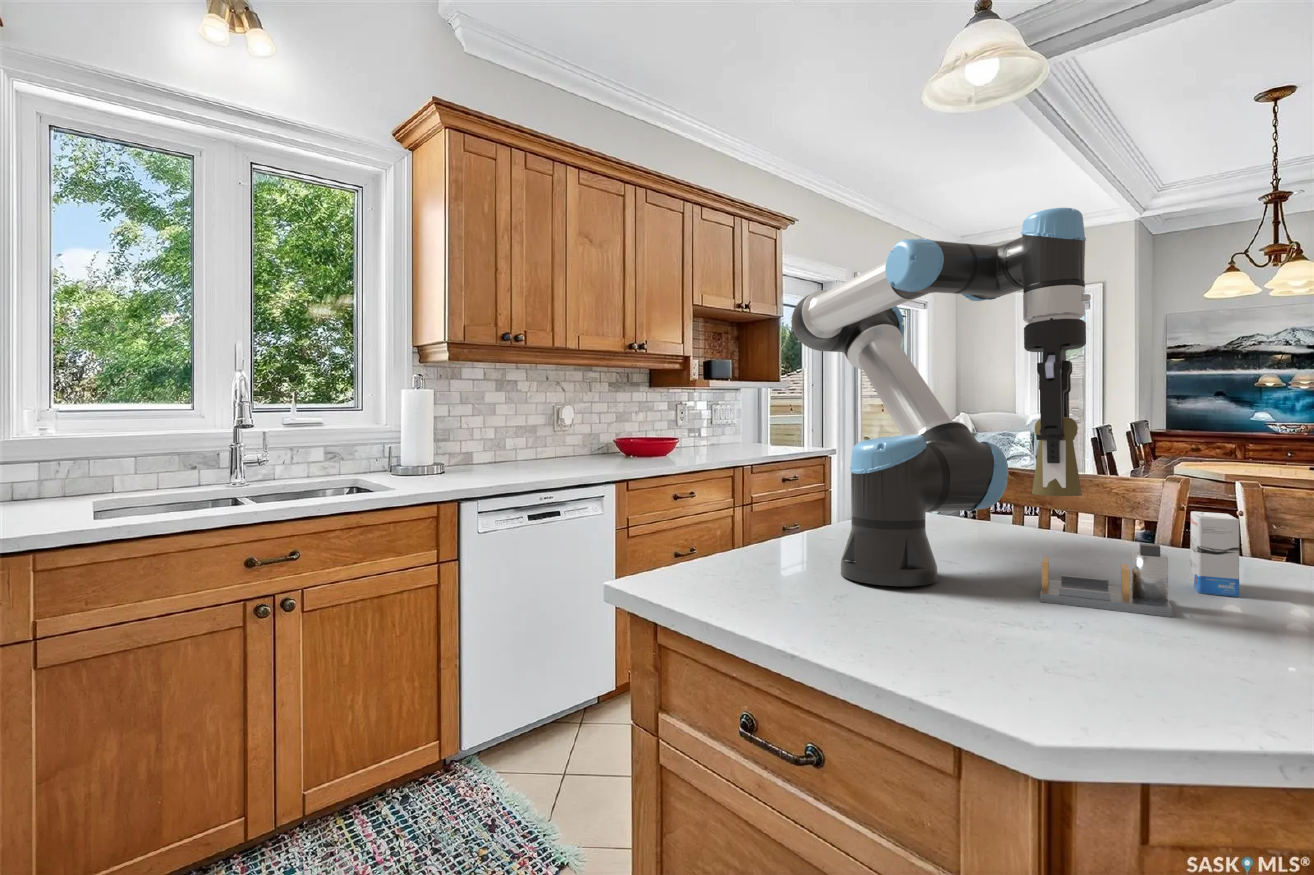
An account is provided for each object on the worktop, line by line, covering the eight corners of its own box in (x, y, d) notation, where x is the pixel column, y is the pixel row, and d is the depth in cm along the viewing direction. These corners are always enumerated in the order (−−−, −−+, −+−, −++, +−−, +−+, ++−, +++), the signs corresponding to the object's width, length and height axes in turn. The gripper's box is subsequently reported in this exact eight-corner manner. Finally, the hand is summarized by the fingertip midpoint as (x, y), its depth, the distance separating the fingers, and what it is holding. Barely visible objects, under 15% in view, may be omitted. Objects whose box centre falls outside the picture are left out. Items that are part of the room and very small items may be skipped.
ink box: (1241, 598, 96) (1241, 518, 96) (1197, 594, 99) (1197, 516, 99) (1228, 586, 103) (1228, 512, 103) (1188, 583, 106) (1188, 510, 106)
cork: (1088, 496, 89) (1087, 415, 89) (1039, 495, 90) (1038, 416, 90) (1073, 493, 94) (1072, 417, 94) (1026, 492, 96) (1025, 417, 96)
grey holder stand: (1040, 601, 94) (1040, 542, 94) (1044, 586, 103) (1044, 532, 103) (1172, 617, 86) (1172, 552, 86) (1163, 599, 95) (1163, 540, 95)
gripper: (1080, 308, 83) (1083, 491, 83) (1090, 326, 97) (1092, 484, 97) (1014, 315, 88) (1016, 489, 88) (1032, 332, 102) (1034, 482, 101)
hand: (1056, 486), depth 92 cm, fingers closed on cork, 4 cm apart
